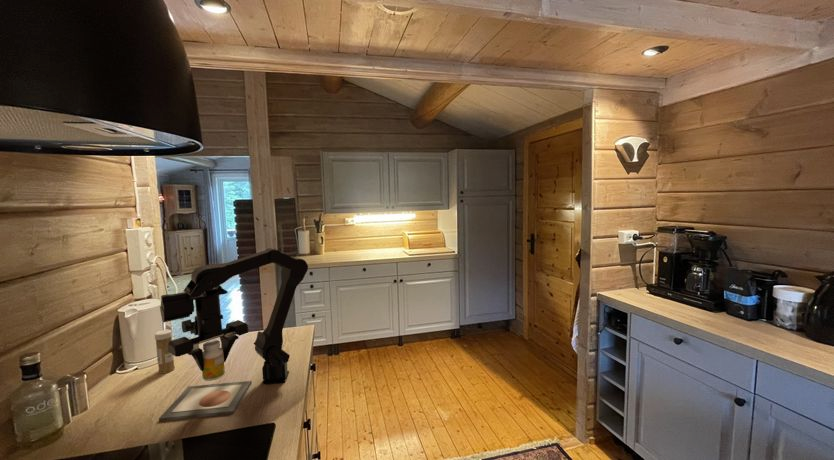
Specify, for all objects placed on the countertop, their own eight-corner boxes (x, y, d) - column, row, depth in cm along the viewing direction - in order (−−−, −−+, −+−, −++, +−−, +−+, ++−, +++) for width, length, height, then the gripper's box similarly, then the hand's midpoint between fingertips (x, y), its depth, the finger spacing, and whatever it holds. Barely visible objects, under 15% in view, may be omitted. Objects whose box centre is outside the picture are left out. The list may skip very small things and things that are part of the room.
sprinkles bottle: (174, 371, 114) (171, 332, 112) (157, 375, 111) (153, 335, 110) (175, 365, 117) (171, 328, 116) (158, 369, 115) (155, 331, 113)
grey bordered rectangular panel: (251, 383, 106) (251, 379, 105) (233, 413, 91) (233, 409, 91) (188, 388, 103) (188, 385, 103) (159, 421, 88) (158, 417, 88)
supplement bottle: (198, 379, 94) (195, 345, 93) (216, 369, 99) (213, 337, 98) (211, 383, 92) (208, 348, 91) (229, 373, 97) (226, 340, 96)
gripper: (229, 298, 106) (233, 346, 107) (157, 316, 91) (163, 372, 92) (247, 304, 99) (251, 355, 101) (173, 325, 84) (179, 385, 86)
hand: (213, 366), depth 95 cm, fingers closed on supplement bottle, 5 cm apart
